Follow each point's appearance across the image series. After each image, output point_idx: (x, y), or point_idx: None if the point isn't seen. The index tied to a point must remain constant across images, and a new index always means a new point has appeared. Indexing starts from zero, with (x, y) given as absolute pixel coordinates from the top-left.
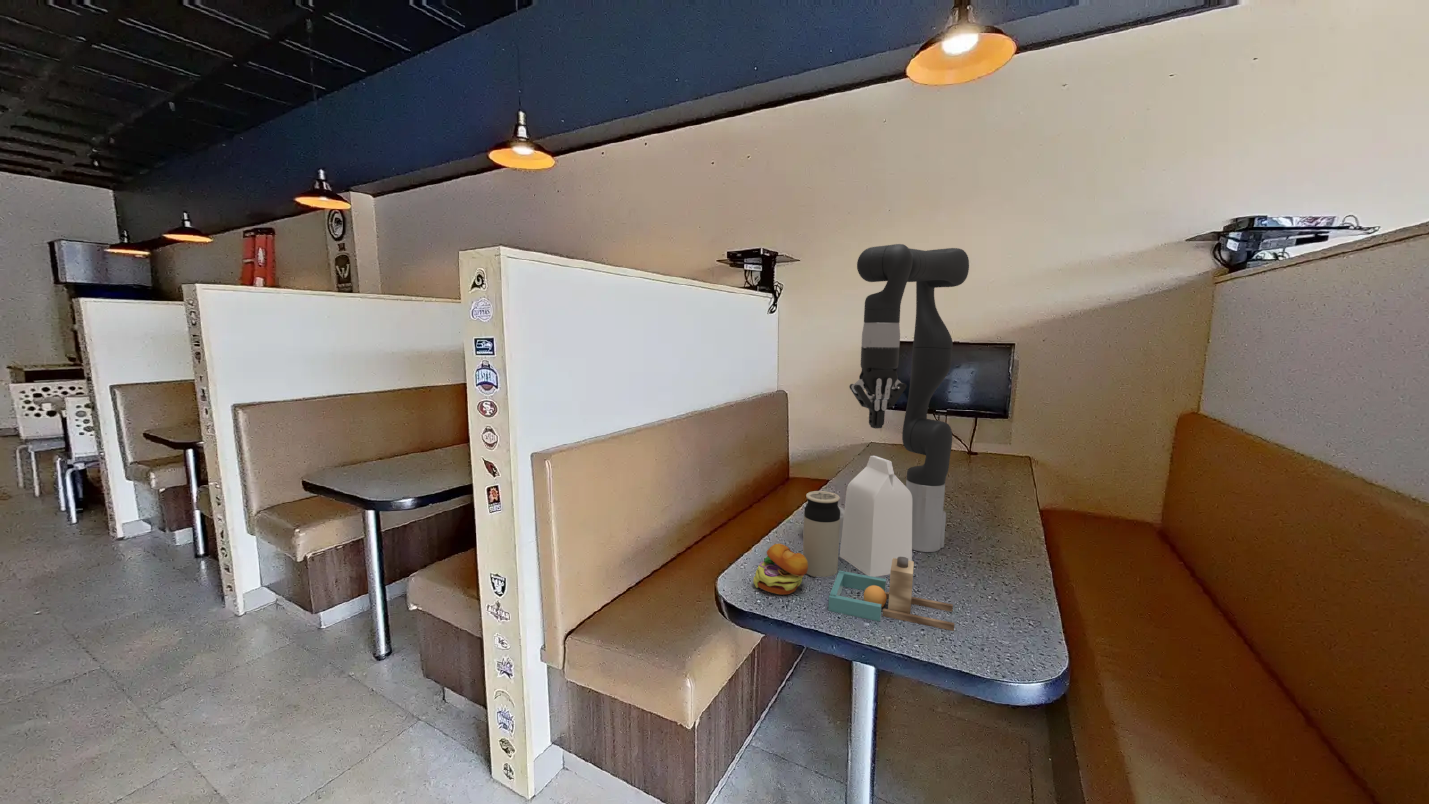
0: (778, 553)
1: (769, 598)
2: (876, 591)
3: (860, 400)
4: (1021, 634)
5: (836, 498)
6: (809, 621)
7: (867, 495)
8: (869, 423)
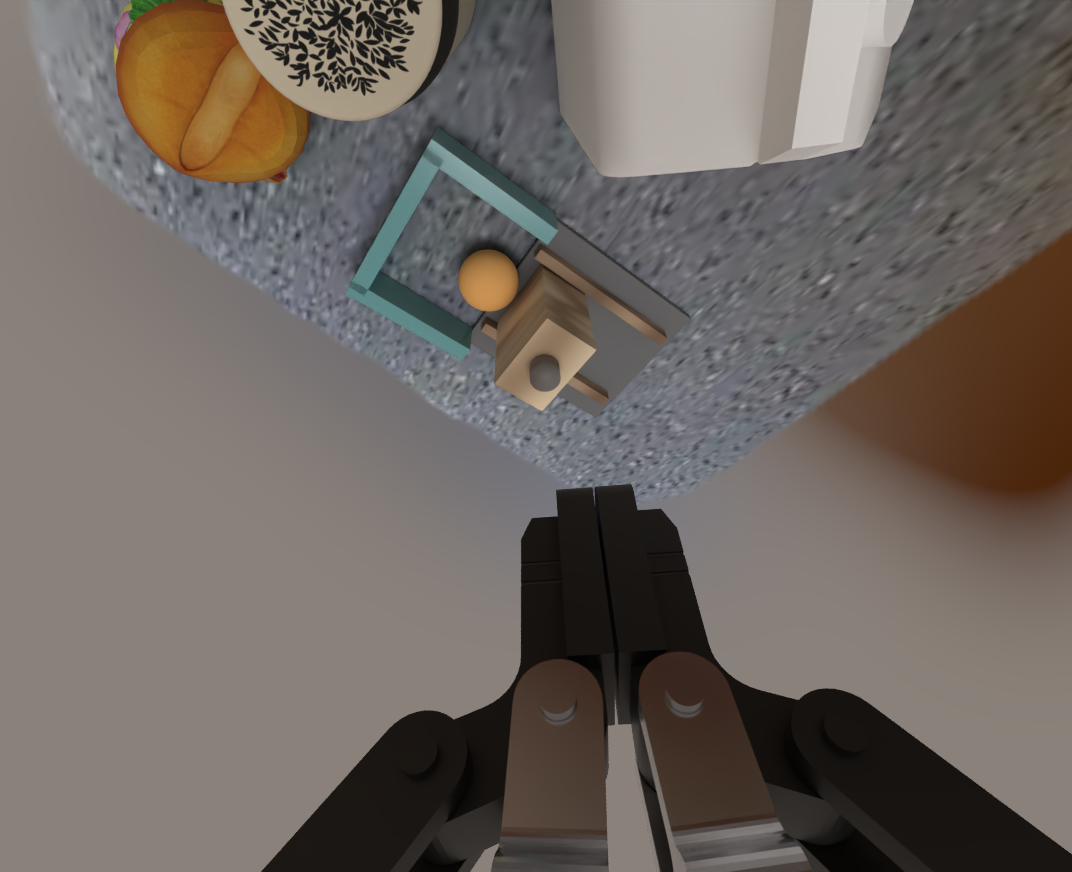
0: (160, 146)
1: None
2: (481, 306)
3: (333, 852)
4: (732, 414)
5: (403, 82)
6: (299, 295)
7: (599, 106)
8: (525, 538)
